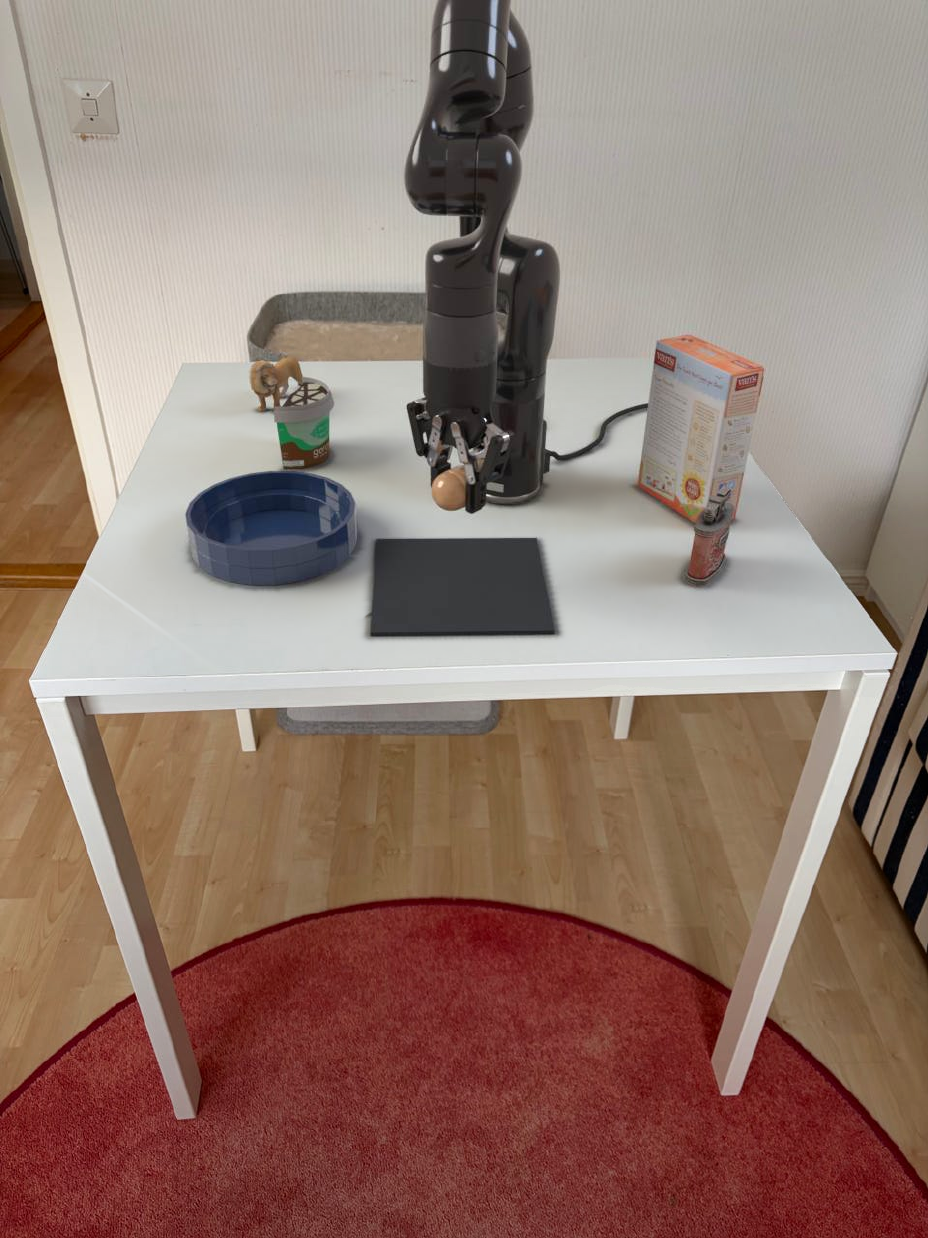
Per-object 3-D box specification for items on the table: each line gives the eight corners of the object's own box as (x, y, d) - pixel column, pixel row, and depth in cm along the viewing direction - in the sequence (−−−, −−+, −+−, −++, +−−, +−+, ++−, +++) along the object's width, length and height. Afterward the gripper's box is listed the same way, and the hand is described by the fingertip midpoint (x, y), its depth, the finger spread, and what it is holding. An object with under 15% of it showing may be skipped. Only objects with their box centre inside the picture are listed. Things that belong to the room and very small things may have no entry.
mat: (377, 542, 121) (376, 538, 121) (536, 541, 122) (536, 537, 122) (370, 636, 105) (370, 632, 105) (554, 634, 106) (554, 630, 105)
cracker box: (737, 520, 127) (768, 365, 115) (702, 531, 125) (730, 374, 113) (669, 477, 137) (691, 331, 125) (635, 486, 135) (654, 338, 123)
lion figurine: (277, 423, 150) (271, 367, 145) (246, 419, 152) (239, 363, 146) (314, 389, 162) (310, 336, 157) (285, 385, 163) (280, 332, 158)
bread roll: (462, 489, 111) (463, 454, 108) (491, 502, 108) (493, 466, 106) (422, 508, 107) (422, 472, 104) (451, 522, 104) (452, 485, 102)
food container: (321, 479, 135) (316, 412, 129) (279, 475, 136) (272, 407, 130) (348, 443, 145) (344, 378, 139) (308, 439, 146) (303, 375, 140)
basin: (288, 490, 132) (284, 456, 129) (390, 542, 121) (389, 507, 118) (159, 544, 120) (152, 508, 117) (259, 607, 109) (254, 570, 106)
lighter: (706, 589, 113) (720, 514, 108) (679, 580, 115) (691, 506, 109) (729, 559, 119) (744, 486, 113) (703, 551, 120) (716, 478, 115)
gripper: (538, 360, 96) (528, 513, 106) (436, 326, 104) (435, 472, 114) (487, 379, 91) (482, 537, 101) (384, 342, 99) (388, 492, 109)
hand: (457, 502), depth 107 cm, fingers closed on bread roll, 4 cm apart
